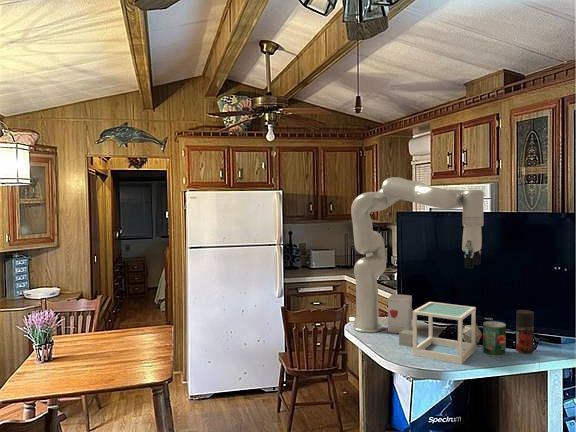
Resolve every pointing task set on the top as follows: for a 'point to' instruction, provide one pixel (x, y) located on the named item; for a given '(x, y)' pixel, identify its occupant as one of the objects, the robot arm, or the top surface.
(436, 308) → the trapdoor
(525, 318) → the deodorant
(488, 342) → the canned tomato
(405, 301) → the supplement box
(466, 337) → the game die
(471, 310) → the frame
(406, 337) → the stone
